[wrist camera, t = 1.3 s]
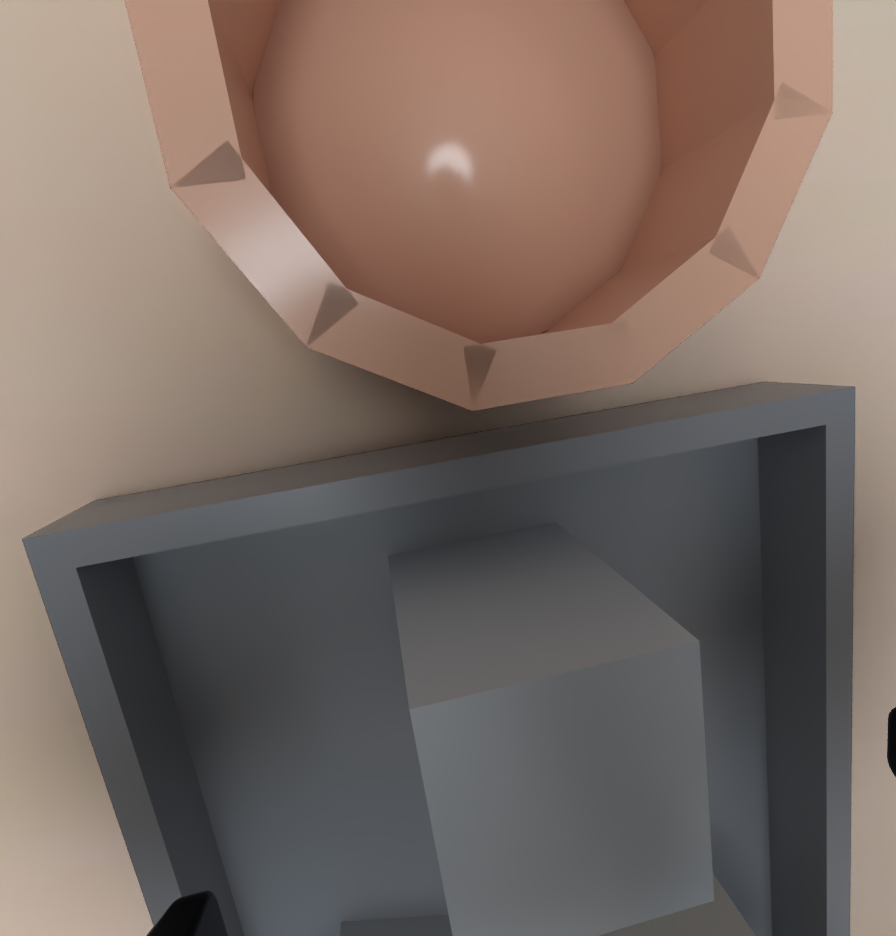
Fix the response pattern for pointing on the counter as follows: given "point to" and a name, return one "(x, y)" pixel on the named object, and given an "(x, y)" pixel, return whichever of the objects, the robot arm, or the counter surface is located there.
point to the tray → (380, 660)
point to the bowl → (490, 171)
